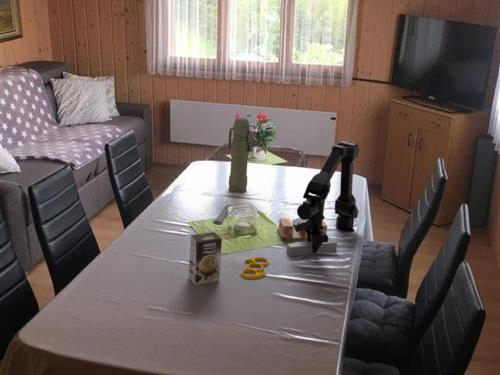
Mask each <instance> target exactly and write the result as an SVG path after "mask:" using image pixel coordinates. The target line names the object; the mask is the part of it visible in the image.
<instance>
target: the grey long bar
mask: <svg viewBox="0 0 500 375" xmlns="http://www.w3.org/2000/svg"><path fill="white" fill-rule="evenodd" d="M337 248H338V241H337V240H336V239H333V238H331V239H328V242H323V243H322V245H321V246H320V247H319V249H318V250H317V252H316V253H313V252H312V241H311V242H308V241H302V242H293V243H287V244H286V251H285V252H286V254H287V255H288V257H295V256H303V255H313V254H321V253H332V252H337V250H338V249H337Z"/></svg>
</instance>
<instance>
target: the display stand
mask: <svg viewBox="0 0 500 375" xmlns="http://www.w3.org/2000/svg"><path fill="white" fill-rule="evenodd" d="M278 221H279V223H278V228H277V229H276V233H277V234H278V236H279V238H280V240H281V241H283V242H284V241H307V234H306V231H305V230H302V231H299V232H296V231H295V229H294V226H293V223H292V221H291V219H290V218H289V217H287V218H286V217H285V218H281V217H280V218H279V220H278ZM322 225H323V227H324V228H323V229H320V231H324V232H325V233H326V234H327V232H328V224H327V223H326V222H325V219H323V222H322ZM327 235H328V234H327Z"/></svg>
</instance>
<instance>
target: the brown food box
mask: <svg viewBox="0 0 500 375" xmlns="http://www.w3.org/2000/svg"><path fill="white" fill-rule="evenodd" d="M222 238H223V237H221V236H220V235H219V234H218V233H217V232H216V231H212V232H210V231H209V232H205V233H198V234H190V244H189V246H190V248H189V264H188V267H189V268H188V278H189V280H190V281H191V282H192V283H193V284H194V286H200V285H205V284H210V283H216V282H220V275H221V274H220V273H221V258H222V245H223V239H222Z"/></svg>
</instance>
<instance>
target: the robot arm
mask: <svg viewBox="0 0 500 375" xmlns="http://www.w3.org/2000/svg"><path fill="white" fill-rule="evenodd" d="M360 151H361V150H360V146H359V145H358V143H355V142H349V141H347V140H346V141H344V140H341V141H340V142H336V143H335V144H333V145H332V148H331V152H330V154H329V156H328V157H327V159H326V161H325V162H324V164H323V166H322V168H321V169H320V171H319V172H318V173H317V174H314V175H313V177H312V178H311V179H310V180H309V181H308V183H307V186H306V188H305V191H304V192H303V196H302V198H303V199H305V200H303V201H302V204H300V205H299V206H298V207H297V209H296V214H297V216H298V218H295V219H292V221H291V222H292V224H293V226H294V228H293V229H295V231H296V232H299V231H302V230H305V231H306V234H307V240H306V242H311V241H312V252H313V253H314V254H317V253H316V252H317V250H318V249H319V247H320V246H321V245H322V243H323V242H328V240H330V239H329V238H330V236H328V234H326V233H325V232H324V231H320V229H323V228H324V227H323V225H322V222H323V220H325V218H326V217H325V215H324V212H325V203H326V202H325V201H326V200H327V199H328V195H329V194H330V191H331V187H332V186H331V180H332V179H333V176H334V175H335V172H336V171H337V169H338V167H339V165H340V164H341V165H340V186H339V188H340V189H339V190H340V191H339V196H338V197H337V198H336V199H335V200H334V214H335V215H337V217H336V219H335V226H336V229H337V230H338V231H339V232H354V231H355V229H354V222H355V219H357V218H358V216H359V211H360V210H359V209H358V207H357V204H356V198H355V196H354V194H353V180H354V162H355V161H356V159H357V158H358V157H359V154H360Z"/></svg>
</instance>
